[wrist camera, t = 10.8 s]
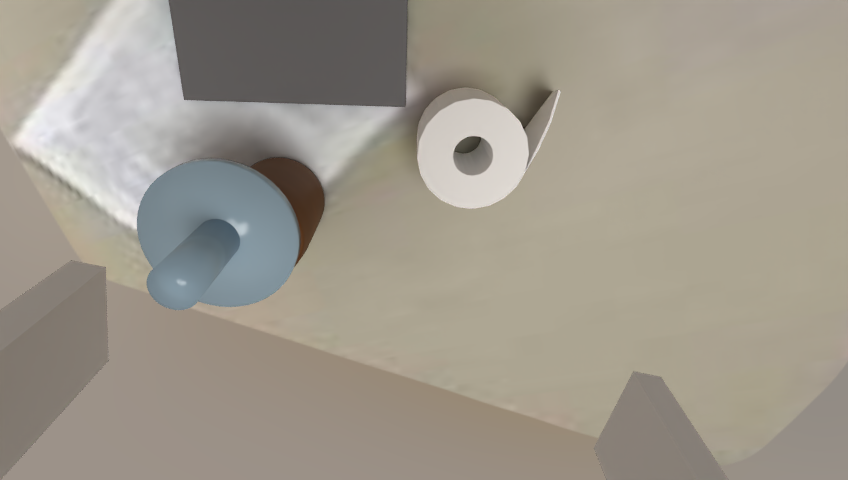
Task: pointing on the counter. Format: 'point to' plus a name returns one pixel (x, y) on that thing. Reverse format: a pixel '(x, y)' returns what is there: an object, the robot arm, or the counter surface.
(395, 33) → the mat
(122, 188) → the counter surface
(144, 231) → the lid
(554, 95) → the toilet paper
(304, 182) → the mug
